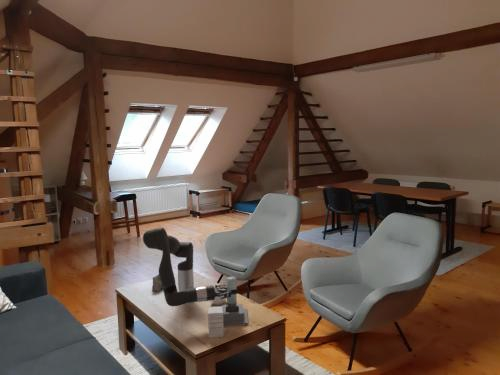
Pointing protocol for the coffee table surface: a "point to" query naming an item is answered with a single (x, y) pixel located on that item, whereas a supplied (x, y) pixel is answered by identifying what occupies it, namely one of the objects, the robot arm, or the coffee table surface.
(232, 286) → the peg
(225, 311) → the socket block
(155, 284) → the mineral rock
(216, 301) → the lidded jar
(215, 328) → the supplement box
